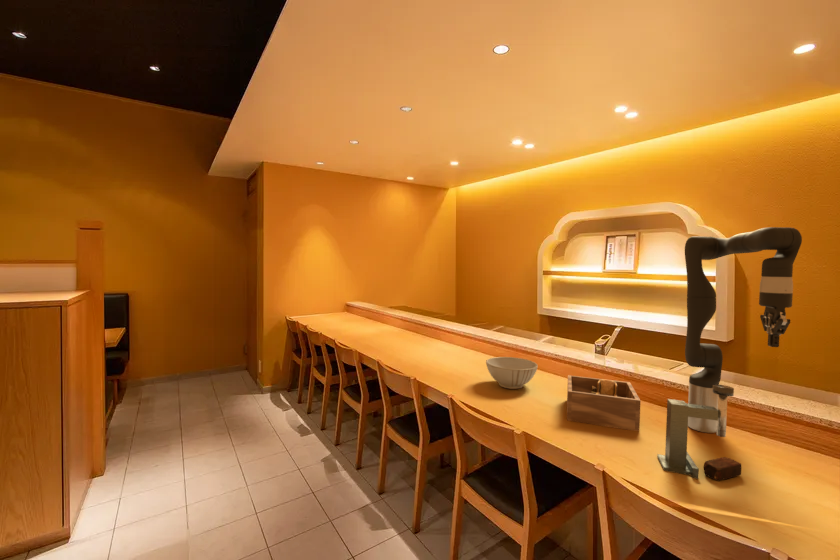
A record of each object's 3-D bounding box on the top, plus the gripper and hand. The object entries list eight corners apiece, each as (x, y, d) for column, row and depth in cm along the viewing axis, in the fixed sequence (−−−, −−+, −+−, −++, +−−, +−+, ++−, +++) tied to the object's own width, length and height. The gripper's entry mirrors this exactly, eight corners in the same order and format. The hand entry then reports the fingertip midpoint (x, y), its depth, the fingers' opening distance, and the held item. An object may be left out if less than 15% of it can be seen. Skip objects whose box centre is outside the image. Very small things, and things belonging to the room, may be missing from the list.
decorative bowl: (529, 397, 181) (529, 372, 181) (477, 387, 195) (478, 364, 195) (542, 383, 204) (543, 361, 203) (495, 375, 218) (496, 354, 217)
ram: (708, 430, 117) (710, 383, 117) (727, 433, 116) (730, 385, 115) (714, 437, 113) (716, 388, 112) (734, 440, 111) (736, 390, 111)
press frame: (656, 454, 126) (658, 394, 125) (706, 463, 121) (709, 400, 120) (665, 472, 115) (667, 406, 114) (720, 483, 110) (723, 414, 109)
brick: (741, 476, 113) (724, 468, 118) (742, 463, 113) (725, 455, 118) (717, 482, 110) (701, 473, 114) (718, 468, 110) (701, 460, 114)
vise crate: (567, 400, 178) (567, 375, 178) (628, 408, 168) (629, 382, 168) (567, 420, 154) (568, 391, 153) (639, 431, 144) (640, 400, 144)
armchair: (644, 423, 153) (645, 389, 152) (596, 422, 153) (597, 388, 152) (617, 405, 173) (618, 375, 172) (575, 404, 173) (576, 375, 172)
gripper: (804, 293, 109) (801, 352, 110) (780, 290, 121) (777, 343, 122) (771, 292, 112) (768, 349, 112) (751, 290, 124) (748, 341, 125)
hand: (773, 346), depth 117 cm, fingers closed
